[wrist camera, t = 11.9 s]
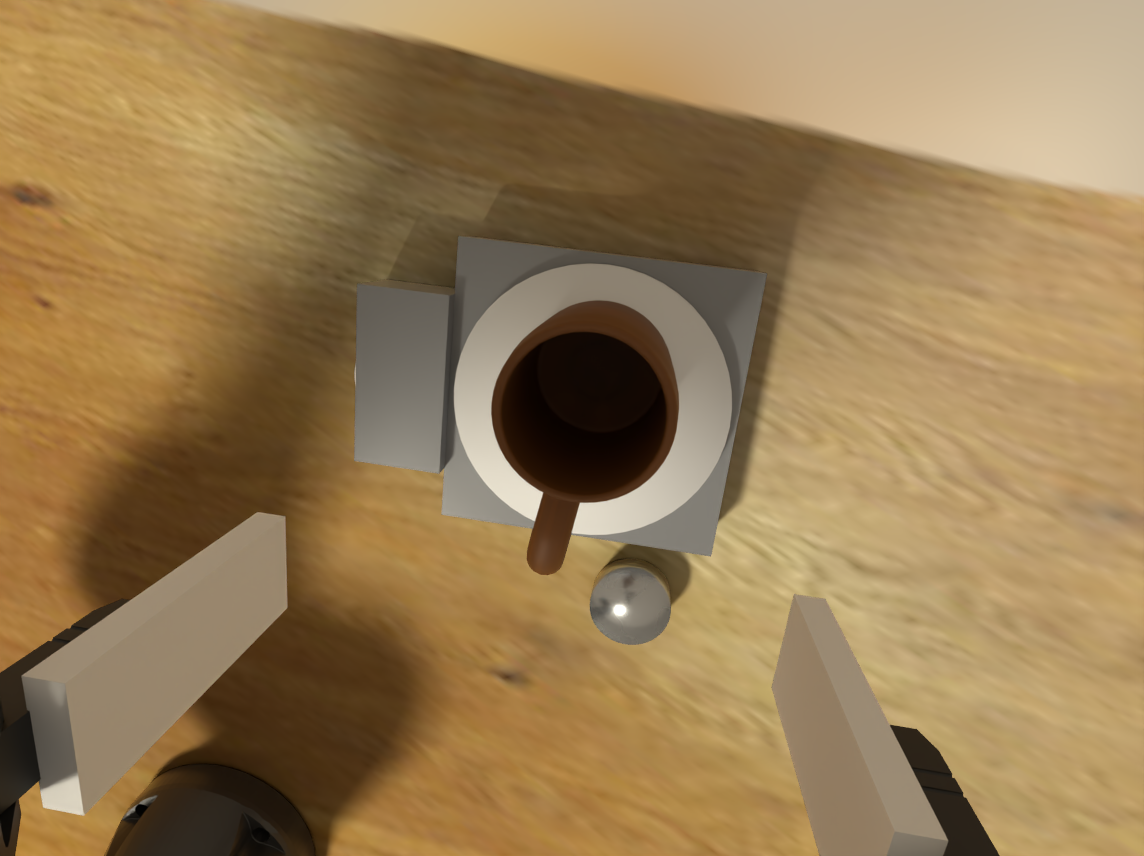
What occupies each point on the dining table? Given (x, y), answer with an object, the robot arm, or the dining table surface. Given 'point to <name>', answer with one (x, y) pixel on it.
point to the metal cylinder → (630, 601)
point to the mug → (584, 414)
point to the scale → (488, 337)
